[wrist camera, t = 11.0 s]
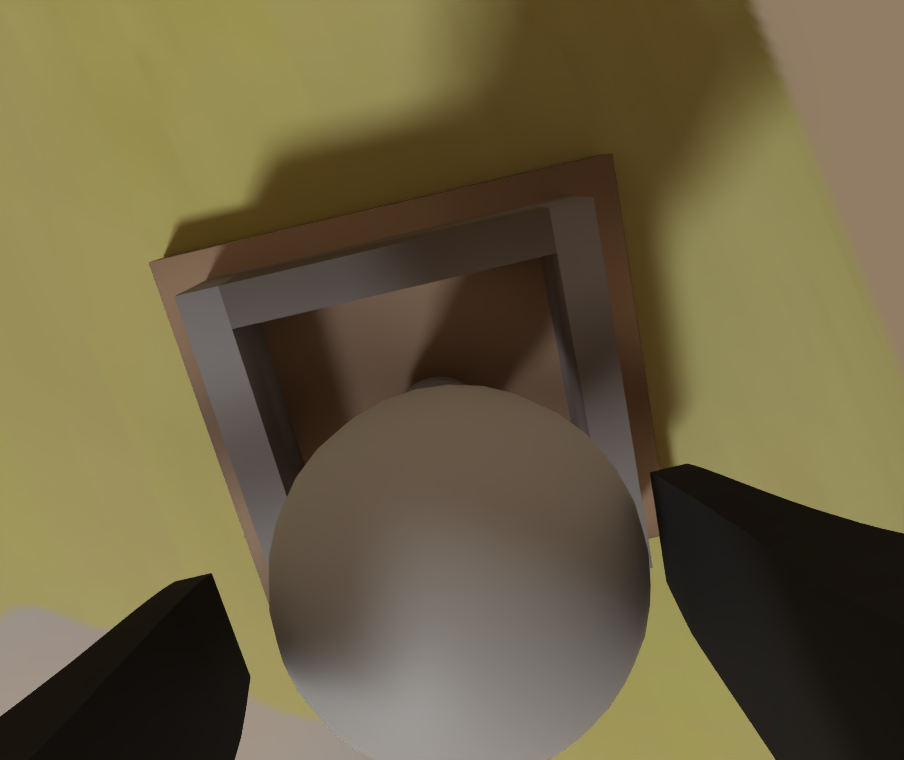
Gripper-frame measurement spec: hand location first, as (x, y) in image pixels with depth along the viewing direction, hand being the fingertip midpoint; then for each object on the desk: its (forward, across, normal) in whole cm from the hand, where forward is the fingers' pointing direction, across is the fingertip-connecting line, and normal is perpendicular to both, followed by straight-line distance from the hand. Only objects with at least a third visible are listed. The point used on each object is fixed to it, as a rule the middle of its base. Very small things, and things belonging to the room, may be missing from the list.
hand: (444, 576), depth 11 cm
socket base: (+9, 0, 0) cm, 9 cm away
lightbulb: (+8, 0, 0) cm, 9 cm away
